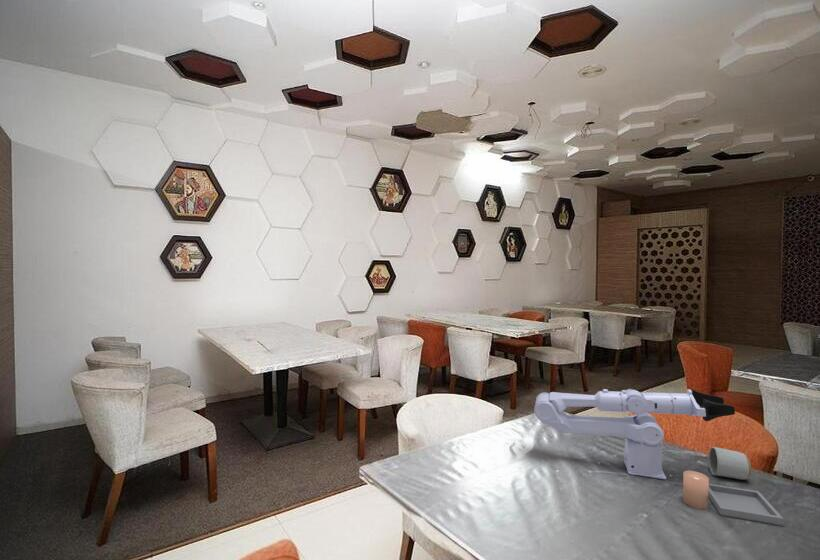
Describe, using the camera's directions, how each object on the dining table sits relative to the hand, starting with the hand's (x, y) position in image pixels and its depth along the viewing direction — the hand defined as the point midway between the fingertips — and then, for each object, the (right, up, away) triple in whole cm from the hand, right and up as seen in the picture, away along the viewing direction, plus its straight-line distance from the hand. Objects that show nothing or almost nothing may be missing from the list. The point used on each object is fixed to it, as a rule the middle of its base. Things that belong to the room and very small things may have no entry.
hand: (728, 405), depth 110 cm
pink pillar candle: (-15, -22, -9) cm, 28 cm away
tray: (-5, -22, -10) cm, 25 cm away
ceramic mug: (+4, -22, +6) cm, 23 cm away
